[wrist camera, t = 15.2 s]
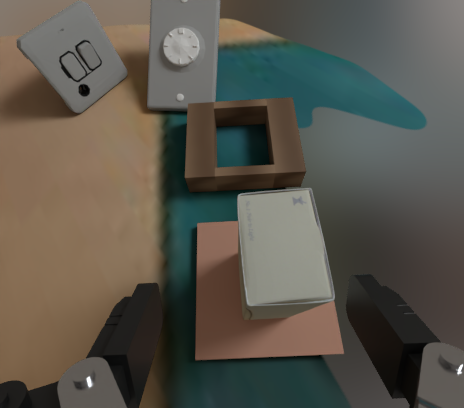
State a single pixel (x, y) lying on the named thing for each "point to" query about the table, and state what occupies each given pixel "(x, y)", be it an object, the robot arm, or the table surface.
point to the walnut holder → (243, 177)
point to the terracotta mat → (230, 309)
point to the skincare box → (281, 254)
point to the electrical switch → (74, 56)
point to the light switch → (182, 53)
